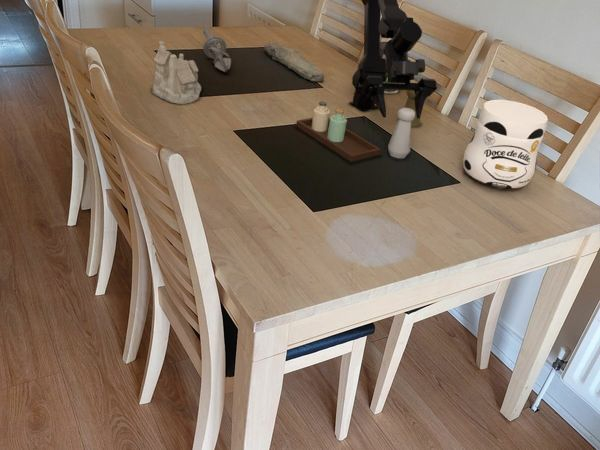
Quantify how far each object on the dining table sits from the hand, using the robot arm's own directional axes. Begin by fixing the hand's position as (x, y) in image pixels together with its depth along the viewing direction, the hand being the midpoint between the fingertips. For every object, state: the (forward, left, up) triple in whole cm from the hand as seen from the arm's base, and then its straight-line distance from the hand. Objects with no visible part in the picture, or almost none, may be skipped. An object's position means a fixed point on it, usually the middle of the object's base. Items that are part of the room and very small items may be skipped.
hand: (401, 117), depth 152 cm
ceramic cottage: (+33, -57, -10) cm, 67 cm away
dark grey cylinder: (-32, -38, -10) cm, 51 cm away
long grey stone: (-15, -67, -10) cm, 69 cm away
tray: (+11, -11, -10) cm, 18 cm away
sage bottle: (+11, -12, -9) cm, 18 cm away
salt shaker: (+1, +2, -10) cm, 10 cm away
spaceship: (+8, -81, -10) cm, 82 cm away
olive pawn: (-19, -13, -10) cm, 25 cm away
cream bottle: (+11, -19, -9) cm, 24 cm away
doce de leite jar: (-14, +22, -10) cm, 28 cm away
